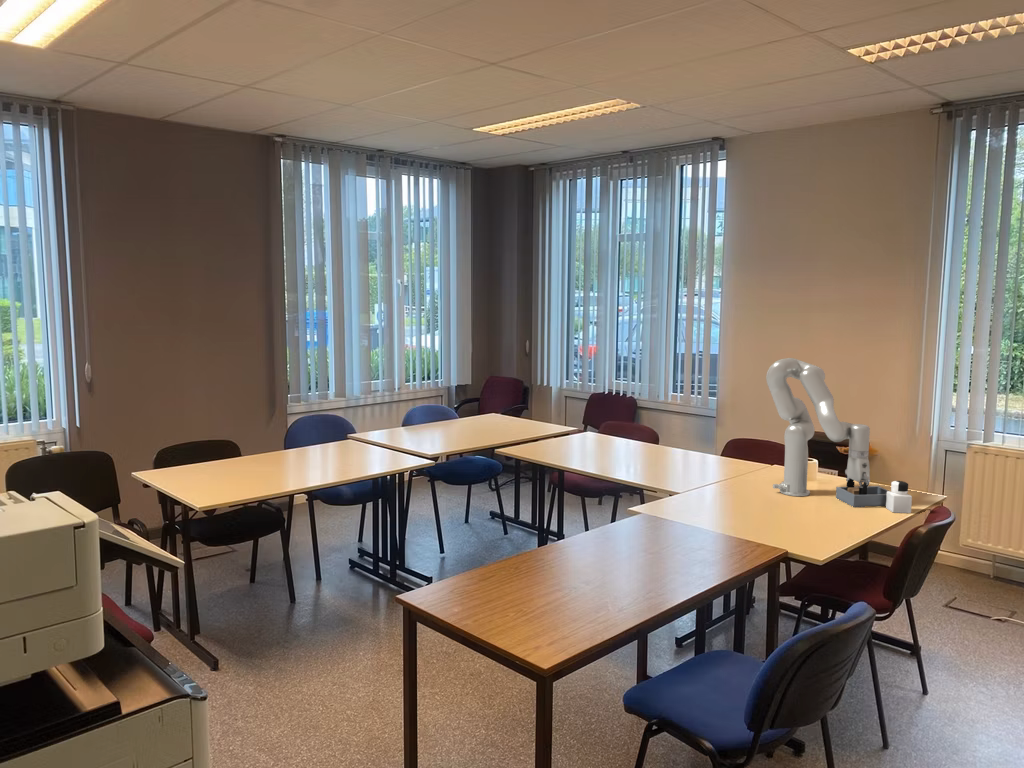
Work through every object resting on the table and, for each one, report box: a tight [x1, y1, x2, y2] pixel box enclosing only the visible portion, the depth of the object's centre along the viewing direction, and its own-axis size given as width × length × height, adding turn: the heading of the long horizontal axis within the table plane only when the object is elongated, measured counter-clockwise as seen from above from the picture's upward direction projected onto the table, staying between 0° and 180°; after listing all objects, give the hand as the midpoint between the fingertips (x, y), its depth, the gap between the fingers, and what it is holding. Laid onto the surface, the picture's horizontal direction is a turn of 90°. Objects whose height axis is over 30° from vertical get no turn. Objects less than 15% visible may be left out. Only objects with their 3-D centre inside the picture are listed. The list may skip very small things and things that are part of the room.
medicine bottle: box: [885, 480, 913, 514], centre depth 296 cm, size 7×7×12 cm
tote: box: [835, 485, 890, 508], centre depth 309 cm, size 19×14×5 cm
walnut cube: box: [848, 486, 859, 495], centre depth 308 cm, size 5×5×5 cm
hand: (856, 493), depth 308 cm, fingers open, 9 cm apart
